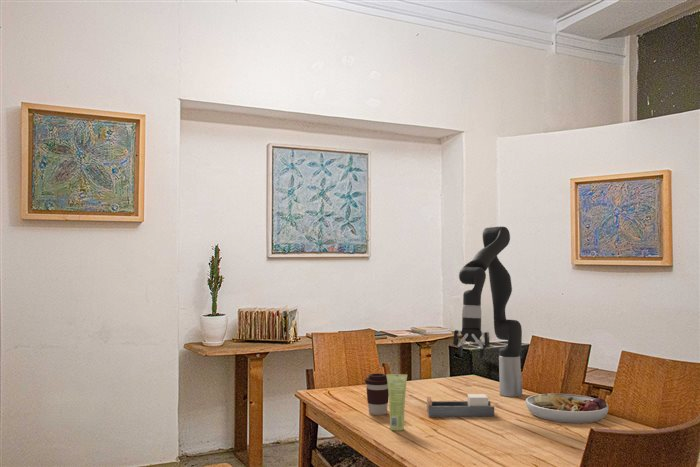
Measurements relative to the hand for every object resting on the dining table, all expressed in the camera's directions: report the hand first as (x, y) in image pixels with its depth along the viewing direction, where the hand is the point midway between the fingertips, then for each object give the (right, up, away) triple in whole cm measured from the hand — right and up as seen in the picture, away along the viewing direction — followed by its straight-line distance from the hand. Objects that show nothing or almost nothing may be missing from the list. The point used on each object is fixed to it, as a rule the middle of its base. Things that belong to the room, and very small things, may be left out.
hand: (471, 357), depth 239 cm
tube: (-32, -21, -26) cm, 46 cm away
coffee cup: (-37, -22, -3) cm, 43 cm away
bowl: (+35, -21, -8) cm, 42 cm away
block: (+1, -20, -6) cm, 21 cm away
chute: (-6, -21, -6) cm, 23 cm away
